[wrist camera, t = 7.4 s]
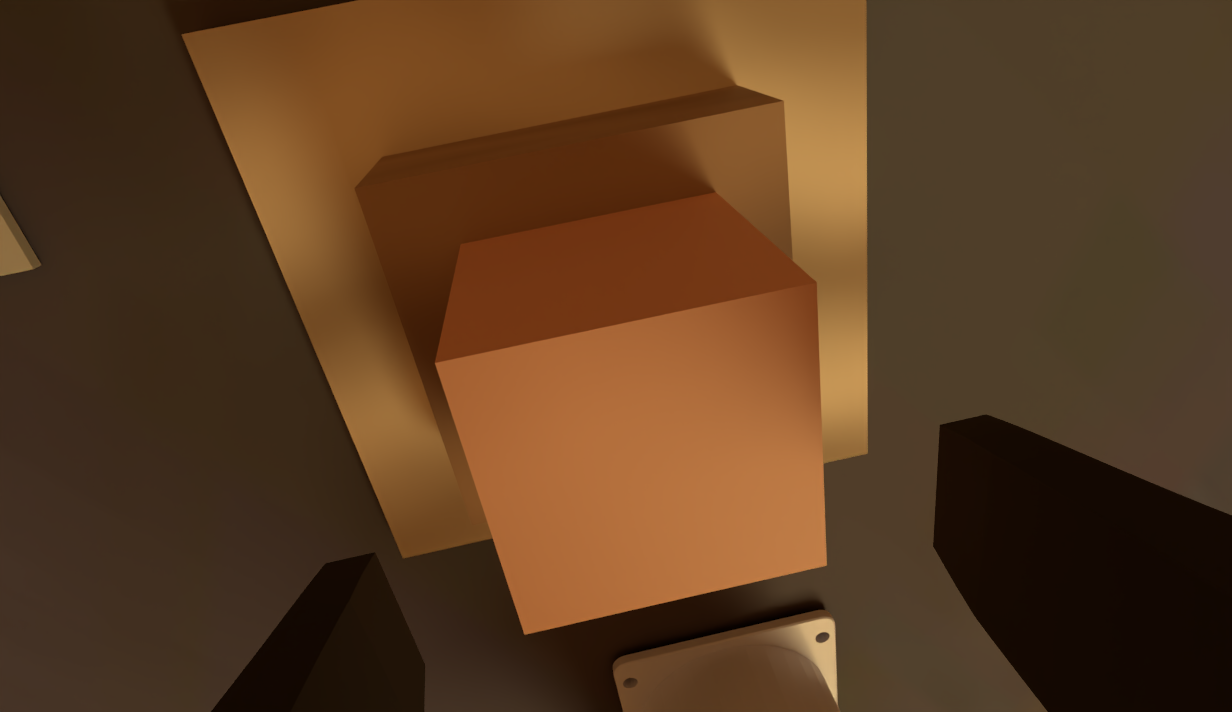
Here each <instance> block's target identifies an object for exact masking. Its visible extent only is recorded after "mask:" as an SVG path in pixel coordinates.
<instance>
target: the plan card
mask: <svg viewBox="0 0 1232 712" xmlns="http://www.w3.org/2000/svg"><path fill="white" fill-rule="evenodd" d="M39 266H41V263H40V261H39V260H38V258H37V256H36V255H35V253H34V251H33V250H32V248H31V246H30V245H29V243H28V241H27V240H26V238H25V236H24V234H23V233H22V231H21V229H20V228H19V226H18V224H17V223H16V221H15V219H14V218H13V216H12V214H11V213H10V211H9V209H8V207H7V206H6V204H5V202H4V201H3V199H2V197H1V196H0V276H3V275H8V274H13V273H18V272H23V271H28V270H32V269H35V268H37V267H39Z"/></svg>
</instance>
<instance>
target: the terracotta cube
mask: <svg viewBox="0 0 1232 712" xmlns="http://www.w3.org/2000/svg"><path fill="white" fill-rule="evenodd" d="M435 365H436V368H437V371H438V374H439V377H440V380H441V383H442V386H443V389H444V392H445V395H446V398H447V401H448V404H449V407H450V410H451V413H452V417H453V420H454V423H455V426H456V429H457V432H458V435H459V438H460V441H461V444H462V447H463V450H464V453H465V456H466V459H467V462H468V465H469V468H470V471H471V474H472V477H473V480H474V483H475V486H476V489H477V492H478V495H479V498H480V501H481V504H482V507H483V510H484V513H485V516H486V519H487V523H488V526H489V529H490V532H491V535H492V538H493V541H494V544H495V547H496V550H497V553H498V556H499V559H500V562H501V565H502V568H503V571H504V574H505V577H506V580H507V583H508V586H509V589H510V592H511V595H512V598H513V601H514V604H515V607H516V610H517V613H518V616H519V619H520V622H521V625H522V629H523V632H524V635H526V634H530V633H535V632H539V631H543V630H548V629H552V628H556V627H561V626H565V625H569V624H574V623H578V622H582V621H587V620H591V619H596V618H600V617H604V616H609V615H613V614H617V613H622V612H626V611H630V610H635V609H639V608H643V607H648V606H652V605H657V604H661V603H665V602H670V601H674V600H678V599H683V598H687V597H691V596H696V595H700V594H704V593H709V592H713V591H718V590H722V589H726V588H731V587H735V586H739V585H744V584H748V583H752V582H757V581H761V580H765V579H770V578H774V577H778V576H783V575H787V574H792V573H796V572H800V571H805V570H809V569H813V568H818V567H822V566H826V565H827V560H826V531H825V503H824V474H823V446H822V417H821V389H820V360H819V332H818V303H817V282H816V281H815V280H814V279H812V278H811V277H810V276H809V275H808V274H807V273H806V272H805V271H804V270H802V269H801V268H800V267H799V266H798V265H797V264H796V263H795V262H793V261H792V260H791V259H790V258H789V257H788V256H787V255H786V254H785V253H783V252H782V251H781V250H780V249H779V248H778V247H777V246H776V245H774V244H773V243H772V242H771V241H770V240H769V239H768V238H767V237H766V236H764V235H763V234H762V233H761V232H760V231H759V230H758V229H757V228H755V227H754V226H753V225H752V224H751V223H750V222H749V221H748V220H747V219H745V218H744V217H743V216H742V215H741V214H740V213H739V212H738V211H737V210H735V209H734V208H733V207H732V206H731V205H730V204H729V203H728V202H726V201H725V200H724V199H723V198H722V197H721V196H720V195H719V194H718V193H716V192H714V193H709V194H704V195H699V196H694V197H689V198H684V199H679V200H675V201H670V202H665V203H660V204H655V205H650V206H645V207H640V208H635V209H630V210H626V211H621V212H616V213H611V214H606V215H601V216H596V217H591V218H586V219H582V220H577V221H572V222H567V223H562V224H557V225H552V226H547V227H542V228H537V229H533V230H528V231H523V232H518V233H513V234H508V235H503V236H498V237H493V238H489V239H484V240H479V241H474V242H469V243H464V244H461V245H460V250H459V254H458V259H457V264H456V268H455V273H454V277H453V282H452V287H451V291H450V296H449V300H448V305H447V310H446V314H445V319H444V323H443V328H442V333H441V337H440V342H439V346H438V351H437V356H436V360H435Z"/></svg>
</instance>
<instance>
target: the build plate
mask: <svg viewBox="0 0 1232 712" xmlns="http://www.w3.org/2000/svg"><path fill="white" fill-rule="evenodd" d="M181 35H182V37H183V40H184V42H185V44H186V47H187V49H188V51H189V54H190V56H191V59H192V61H193V63H194V66H195V68H196V70H197V73H198V75H199V77H200V80H201V82H202V85H203V87H204V89H205V92H206V94H207V96H208V99H209V101H210V103H211V106H212V108H213V111H214V113H215V115H216V118H217V120H218V122H219V125H220V127H221V129H222V132H223V134H224V137H225V139H226V141H227V144H228V146H229V148H230V151H231V153H232V155H233V158H234V160H235V163H236V165H237V167H238V170H239V172H240V174H241V177H242V179H243V181H244V184H245V186H246V189H247V191H248V193H249V196H250V198H251V200H252V203H253V205H254V207H255V210H256V212H257V215H258V217H259V219H260V222H261V224H262V226H263V229H264V231H265V233H266V236H267V238H268V241H269V243H270V245H271V248H272V250H273V252H274V255H275V257H276V259H277V262H278V264H279V267H280V269H281V271H282V274H283V276H284V278H285V281H286V283H287V285H288V288H289V290H290V293H291V295H292V297H293V300H294V302H295V304H296V307H297V309H298V311H299V314H300V316H301V319H302V321H303V323H304V326H305V328H306V330H307V333H308V335H309V337H310V340H311V342H312V345H313V347H314V349H315V352H316V354H317V356H318V359H319V361H320V363H321V366H322V368H323V371H324V373H325V375H326V378H327V380H328V382H329V385H330V387H331V389H332V392H333V394H334V397H335V399H336V401H337V404H338V406H339V408H340V411H341V413H342V415H343V418H344V420H345V423H346V425H347V427H348V430H349V432H350V434H351V437H352V439H353V441H354V444H355V446H356V449H357V451H358V453H359V456H360V458H361V460H362V463H363V465H364V467H365V470H366V472H367V475H368V477H369V479H370V482H371V484H372V486H373V489H374V491H375V493H376V496H377V498H378V501H379V503H380V505H381V508H382V510H383V512H384V515H385V517H386V519H387V522H388V524H389V527H390V529H391V531H392V534H393V536H394V538H395V541H396V543H397V545H398V548H399V550H400V553H401V555H402V557H403V558H407V557H412V556H416V555H421V554H425V553H429V552H434V551H438V550H443V549H447V548H452V547H456V546H460V545H465V544H469V543H474V542H478V541H482V540H487V539H491V538H492V535H491V532H490V529H489V526H488V523H487V522H485V523H480V524H476V525H472V523H471V520H470V517H469V515H468V512H467V509H466V506H465V503H464V500H463V497H462V495H461V492H460V489H459V486H458V483H457V480H456V477H455V475H454V472H453V469H452V466H451V463H450V460H449V457H448V455H447V452H446V449H445V446H444V443H443V440H442V437H441V435H440V432H439V429H438V426H437V423H436V420H435V417H434V415H433V412H432V409H431V406H430V403H429V400H428V397H427V395H426V392H425V389H424V386H423V383H422V380H421V377H420V375H419V372H418V369H417V366H416V363H415V360H414V357H413V355H412V352H411V349H410V346H409V343H408V340H407V337H406V335H405V332H404V329H403V326H402V323H401V320H400V317H399V315H398V312H397V309H396V306H395V303H394V300H393V297H392V295H391V292H390V289H389V286H388V283H387V280H386V277H385V275H384V272H383V269H382V266H381V263H380V260H379V257H378V255H377V252H376V249H375V246H374V243H373V240H372V237H371V235H370V232H369V229H368V226H367V223H366V220H365V217H364V215H363V212H362V209H361V206H360V203H359V200H358V197H357V195H356V192H355V189H354V188H355V187H356V186H357V185H358V184H359V182H360V181H361V180H362V179H363V178H364V177H365V176H366V174H367V173H368V172H369V171H370V170H371V169H372V168H373V167H374V165H375V164H376V163H377V162H378V161H379V160H380V159H381V157H384V156H389V155H394V154H399V153H404V152H409V151H414V150H419V149H423V148H428V147H433V146H438V145H443V144H448V143H453V142H458V141H463V140H468V139H473V138H478V137H483V136H488V135H493V134H498V133H503V132H508V131H513V130H517V129H522V128H527V127H532V126H537V125H542V124H547V123H552V122H557V121H562V120H567V119H572V118H577V117H582V116H587V115H592V114H597V113H602V112H606V111H611V110H616V109H621V108H626V107H631V106H636V105H641V104H646V103H651V102H656V101H661V100H666V99H671V98H676V97H681V96H686V95H691V94H696V93H700V92H705V91H710V90H715V89H720V88H725V87H730V86H735V85H738V86H741V87H744V88H747V89H750V90H753V91H756V92H759V93H762V94H765V95H768V96H771V97H774V98H777V99H780V100H783V101H784V112H785V130H786V148H787V165H788V183H789V201H790V219H791V237H792V255H793V262H795V263H796V264H797V265H798V266H799V267H800V268H801V269H802V270H804V271H805V272H806V273H807V274H808V275H809V276H810V277H811V278H812V279H814V280H815V281H816V282H817V303H818V332H819V360H820V389H821V417H822V446H823V463H827V462H832V461H836V460H840V459H845V458H849V457H854V456H858V455H862V454H867V453H868V428H867V83H866V0H357V1H352V2H347V3H341V4H336V5H331V6H326V7H321V8H315V9H310V10H305V11H300V12H295V13H289V14H284V15H279V16H274V17H269V18H264V19H258V20H253V21H248V22H243V23H238V24H232V25H227V26H222V27H217V28H212V29H206V30H201V31H196V32H191V33H186V34H181Z"/></svg>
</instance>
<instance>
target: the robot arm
mask: <svg viewBox="0 0 1232 712" xmlns="http://www.w3.org/2000/svg"><path fill="white" fill-rule="evenodd" d="M933 547H934V548H935V550H936V552H937V554H938V555H939V557H940V559H941V561H942V562H943V564H944V566H945V568H946V569H947V571H948V573H949V574H950V576H951V578H952V580H953V581H954V583H955V585H956V587H957V588H958V590H959V591H960V593H961V595H962V596H963V598H964V600H965V601H966V603H967V604H968V606H969V608H970V609H971V611H972V612H973V614H974V616H975V617H976V619H977V620H978V621H979V623H980V624H981V625H982V627H983V628H984V629H985V631H986V632H987V633H988V635H989V636H990V637H991V639H992V640H993V641H994V643H995V644H996V645H997V647H998V648H999V649H1000V650H1001V652H1002V653H1003V654H1004V656H1005V657H1006V658H1007V660H1008V661H1009V662H1010V663H1011V665H1012V666H1013V667H1014V669H1015V670H1016V671H1017V673H1018V674H1019V675H1020V677H1021V678H1022V679H1023V680H1024V682H1025V683H1026V684H1027V686H1028V687H1029V688H1030V689H1031V691H1032V692H1033V693H1034V694H1035V696H1036V697H1037V698H1038V700H1039V701H1040V702H1041V703H1042V705H1043V706H1044V707H1045V709H1046V710H1047V711H1048V712H1232V515H1229V514H1227V513H1224V512H1222V511H1219V510H1216V509H1214V508H1211V507H1209V506H1206V505H1204V504H1201V503H1199V502H1197V501H1194V500H1192V499H1189V498H1187V497H1184V496H1182V495H1179V494H1177V493H1175V492H1172V491H1170V490H1167V489H1165V488H1162V487H1160V486H1158V485H1155V484H1153V483H1150V482H1148V481H1146V480H1143V479H1141V478H1139V477H1136V476H1134V475H1132V474H1129V473H1127V472H1124V471H1122V470H1120V469H1117V468H1115V467H1113V466H1110V465H1108V464H1106V463H1103V462H1101V461H1099V460H1096V459H1094V458H1092V457H1089V456H1087V455H1085V454H1082V453H1080V452H1078V451H1075V450H1073V449H1071V448H1068V447H1066V446H1064V445H1061V444H1059V443H1057V442H1054V441H1052V440H1050V439H1047V438H1045V437H1042V436H1040V435H1038V434H1035V433H1033V432H1030V431H1028V430H1026V429H1023V428H1021V427H1018V426H1016V425H1013V424H1011V423H1008V422H1005V421H1003V420H1000V419H997V418H995V417H992V416H989V415H982V416H977V417H973V418H969V419H964V420H960V421H955V422H951V423H946V424H942V425H940V433H939V451H938V470H937V488H936V506H935V524H934V542H933ZM613 674H614V679H615V682H616V686H617V690H618V694H619V698H620V702H621V705H622V709H623V712H840V710H839V708H838V695H837V666H836V637H835V622H834V619H833V617H832V615H831V614H830V613H829V612H828V611H826V610H816V611H811V612H807V613H803V614H799V615H794V616H790V617H786V618H782V619H777V620H773V621H769V622H765V623H760V624H756V625H752V626H748V627H743V628H739V629H735V630H731V631H726V632H722V633H718V634H714V635H709V636H705V637H701V638H697V639H692V640H688V641H684V642H680V643H675V644H671V645H667V646H663V647H658V648H654V649H650V650H646V651H641V652H637V653H633V654H628V655H624V656H622V657H619V658H618V659H617V660H615V662H614V663H613ZM424 692H425V663H424V661H423V659H422V657H421V654H420V652H419V650H418V648H417V645H416V643H415V641H414V639H413V637H412V634H411V632H410V630H409V628H408V625H407V623H406V621H405V619H404V616H403V614H402V612H401V610H400V607H399V605H398V603H397V601H396V598H395V596H394V594H393V592H392V589H391V587H390V585H389V583H388V580H387V578H386V576H385V574H384V571H383V569H382V567H381V565H380V562H379V560H378V558H377V556H376V553H375V552H374V553H370V554H366V555H361V556H357V557H352V558H348V559H343V560H339V561H334V562H330V563H326V564H325V565H324V566H323V567H322V569H321V570H320V571H319V572H318V574H317V575H316V576H315V577H314V578H313V580H312V581H311V582H310V584H309V585H308V586H307V587H306V589H305V590H304V591H303V593H302V594H301V595H300V597H299V598H298V599H297V600H296V602H295V603H294V604H293V606H292V607H291V608H290V610H289V611H288V612H287V614H286V615H285V616H284V618H283V619H282V620H281V622H280V623H279V624H278V626H277V627H276V628H275V630H274V631H273V632H272V633H271V635H270V636H269V637H268V639H267V640H266V641H265V643H264V644H263V645H262V647H261V648H260V649H259V651H258V652H257V653H256V655H255V656H254V657H253V658H252V660H251V661H250V662H249V664H248V665H247V666H246V667H245V669H244V670H243V671H242V673H241V674H240V675H239V676H238V678H237V679H236V680H235V682H234V683H233V684H232V685H231V687H230V688H229V689H228V691H227V692H226V693H225V694H224V696H223V697H222V698H221V700H220V701H219V702H218V703H217V705H216V706H215V707H214V709H213V710H212V711H211V712H424Z"/></svg>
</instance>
